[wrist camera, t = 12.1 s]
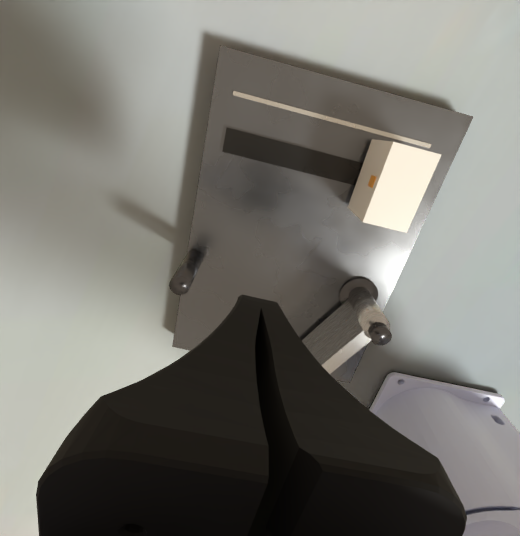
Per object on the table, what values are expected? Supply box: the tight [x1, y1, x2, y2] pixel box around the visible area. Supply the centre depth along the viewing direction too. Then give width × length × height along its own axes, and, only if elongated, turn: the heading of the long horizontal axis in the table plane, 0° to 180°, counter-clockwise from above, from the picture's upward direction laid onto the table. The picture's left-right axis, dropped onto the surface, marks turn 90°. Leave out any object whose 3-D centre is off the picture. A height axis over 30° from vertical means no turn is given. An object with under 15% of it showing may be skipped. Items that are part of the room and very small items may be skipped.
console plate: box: [169, 45, 473, 383], centre depth 18 cm, size 13×18×6 cm
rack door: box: [302, 287, 390, 374], centre depth 20 cm, size 10×1×3 cm, turn 139°
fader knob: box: [348, 139, 441, 233], centre depth 16 cm, size 2×4×3 cm, turn 166°
